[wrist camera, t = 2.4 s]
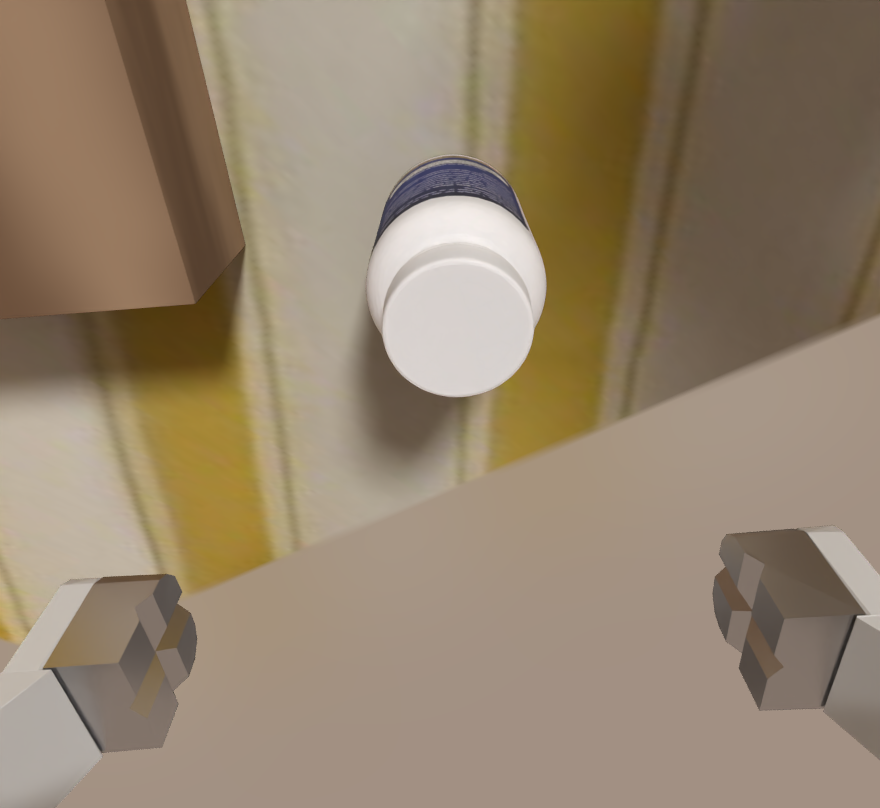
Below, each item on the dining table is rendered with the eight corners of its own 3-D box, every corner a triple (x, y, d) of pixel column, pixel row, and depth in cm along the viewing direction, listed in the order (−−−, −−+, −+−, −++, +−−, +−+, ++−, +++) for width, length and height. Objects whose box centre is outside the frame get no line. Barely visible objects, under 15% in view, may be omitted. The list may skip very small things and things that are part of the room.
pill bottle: (355, 198, 24) (310, 293, 16) (482, 123, 23) (505, 185, 15) (426, 313, 27) (419, 449, 18) (544, 252, 25) (594, 369, 17)
